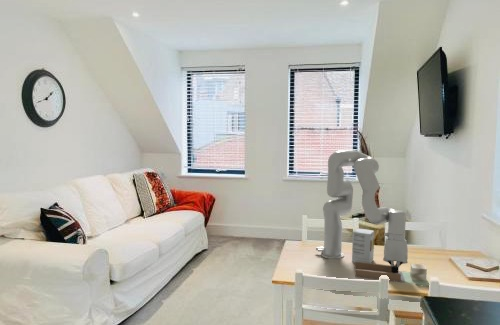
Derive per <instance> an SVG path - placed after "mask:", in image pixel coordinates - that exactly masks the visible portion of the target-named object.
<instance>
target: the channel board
mask: <svg viewBox="0 0 500 325" xmlns="http://www.w3.org/2000/svg"><path fill="white" fill-rule="evenodd" d="M354 263H355V264H354V274H355V275H354V276H355V278H360V279H361V278H362V279H368V280H369V279H370V280H377V279H379V277H380V276H381V275H387V276H388V277H389V279H390V281H389V282H395V283H396V282H397V283H405V284H415V286H420V285H423V286H422V287H429V285H430V283H429V281H428V278H426V282H420V281H412V279H411V276H410V271H402V270H398V273H393V272H391V265H390V264H384V263H383V264H381V263H373V262H372V263H364V262H354Z"/></svg>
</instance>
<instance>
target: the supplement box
mask: <svg viewBox="0 0 500 325" xmlns="http://www.w3.org/2000/svg"><path fill="white" fill-rule="evenodd" d="M374 245H375V230H372V229H367V228H365V229H364V228H360V227H359V228H358V227H357V228H356V229H355V230H353V231H352V246H351V247H352V250H351V251H352V252H351V262H352V263H355V262H364V263H373V261H374V255H375V254H374V251H375V250H374V249H375V246H374Z"/></svg>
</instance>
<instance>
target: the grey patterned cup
mask: <svg viewBox="0 0 500 325" xmlns="http://www.w3.org/2000/svg"><path fill="white" fill-rule="evenodd" d="M427 270H428V269H427V267H426V264H422V263H421V264H420V263H419V264H418V263H410V271H409V272H410V276H411V279H412V281H420V282H426V279H427V273H428V272H427Z"/></svg>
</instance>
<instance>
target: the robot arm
mask: <svg viewBox="0 0 500 325" xmlns="http://www.w3.org/2000/svg"><path fill="white" fill-rule="evenodd" d="M343 167H353V171H354V172H355V175H356V178H357V180H358V183H359V184H360V187H361V190H362V195H361V206H362V209H363V212H364V214H365V217H366V218H367V220H368V221H369V222H370V223H371V224H373V225H381V224H384V223H386V224H387V232H384V237H386V239H385V241H384V249H383V262H386V263H388V265H391V272H393V273H398V271H399V268H400V266H401V265H403V264H408V259H409V258H408V240H406V219H407V215H406V212H405V210H401V209H394V208H391V207H388V206H382V207H378V205H377V202H376V198H375V197H376V193H377V191H378V189H379V188H380V183H379V180H378V179H377V176H376V173H378V171H379V167H380V165H379V162H378V161H377V159H375V158H374V157H372V156H370V155H367V154H365V153H363V152H361V151H359V150H355V149H352V150H351V149H349V150H346V149H345V150H337V151H334V152H332V153H331V155H330V156H329V157H328V161H327V183H326V193H327V196H329V197H330V198H333V199H330V200H327V201H326V202H324V204H323V206H322V213H323V218H324V219H323V221H324V229H323V230H324V231H323V232H324V234H323V238H324V239H323V241H324V242H323V246H316V247H315V251H317V252H321V253H320V256H322V257H323V258H325V259H332V260H339V259H342V258H344V257H345V254H344V252H342V245H343V244H342V240H343V239H342V238H343V223H342V220H341V217H343V216H346V215H348V214H350V213H351V211H352V208H353V198H354V197H353V196H354V188H353V184H352V182H350V181H349V180H348V179H345V178H344V177H345V172H344V168H343ZM334 198H335V199H334Z"/></svg>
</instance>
